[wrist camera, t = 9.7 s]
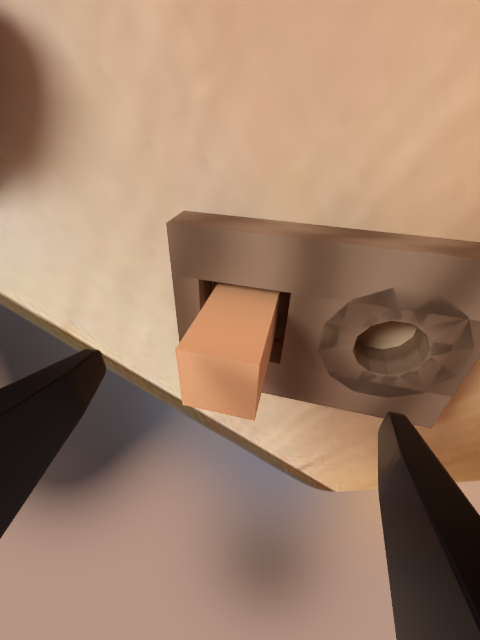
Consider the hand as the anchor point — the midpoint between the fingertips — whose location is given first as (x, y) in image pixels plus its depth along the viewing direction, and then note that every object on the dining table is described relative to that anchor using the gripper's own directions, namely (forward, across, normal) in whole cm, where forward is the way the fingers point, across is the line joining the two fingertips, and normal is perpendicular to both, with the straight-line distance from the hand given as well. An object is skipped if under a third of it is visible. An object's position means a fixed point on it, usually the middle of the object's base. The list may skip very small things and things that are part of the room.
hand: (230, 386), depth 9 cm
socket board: (+12, -3, +4) cm, 13 cm away
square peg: (+11, +2, +4) cm, 12 cm away
